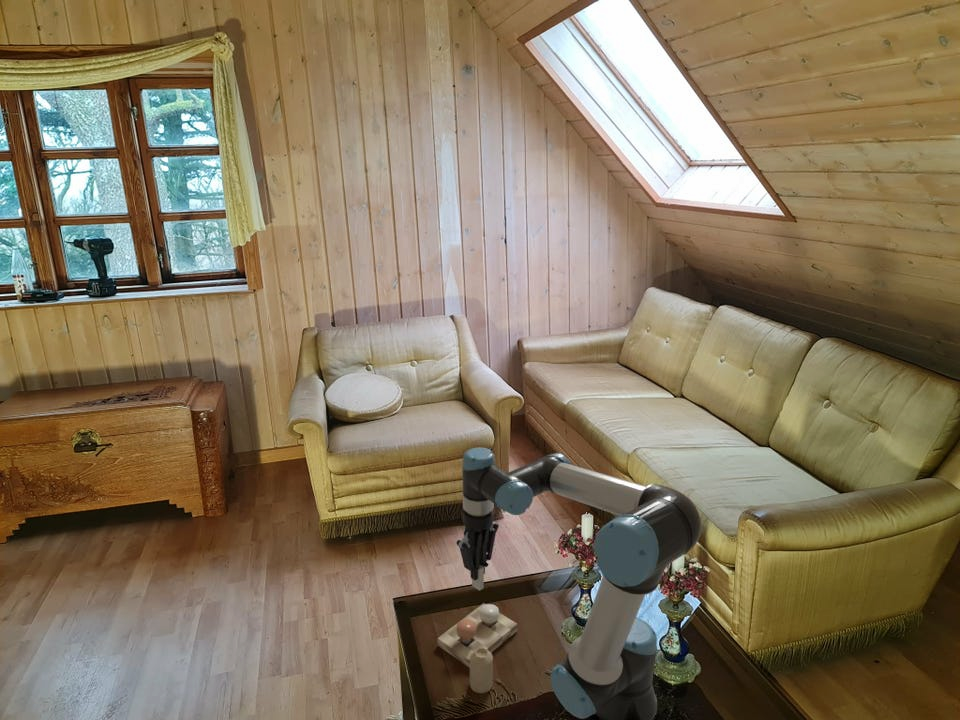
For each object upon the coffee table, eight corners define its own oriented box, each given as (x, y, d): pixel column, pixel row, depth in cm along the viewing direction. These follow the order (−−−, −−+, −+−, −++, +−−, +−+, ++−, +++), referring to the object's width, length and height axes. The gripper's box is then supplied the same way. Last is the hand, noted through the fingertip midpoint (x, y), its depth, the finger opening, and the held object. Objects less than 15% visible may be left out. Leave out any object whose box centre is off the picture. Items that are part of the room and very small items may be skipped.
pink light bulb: (480, 640, 185) (480, 625, 183) (466, 651, 181) (466, 636, 179) (465, 631, 188) (465, 616, 186) (452, 641, 184) (452, 626, 183)
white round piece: (502, 624, 191) (502, 610, 189) (490, 634, 188) (490, 619, 186) (488, 615, 194) (488, 601, 193) (476, 625, 191) (476, 611, 189)
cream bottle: (490, 695, 171) (490, 663, 167) (467, 691, 172) (467, 659, 168) (494, 677, 176) (494, 646, 172) (472, 674, 177) (472, 642, 173)
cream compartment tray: (517, 630, 191) (517, 623, 190) (471, 669, 178) (471, 661, 178) (483, 610, 198) (483, 603, 198) (437, 645, 186) (437, 638, 185)
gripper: (485, 492, 181) (484, 568, 189) (448, 513, 172) (449, 592, 181) (507, 503, 176) (505, 581, 184) (470, 525, 167) (470, 606, 176)
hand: (477, 586), depth 182 cm, fingers closed
